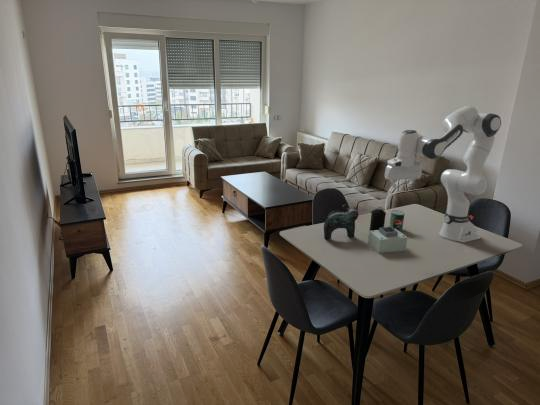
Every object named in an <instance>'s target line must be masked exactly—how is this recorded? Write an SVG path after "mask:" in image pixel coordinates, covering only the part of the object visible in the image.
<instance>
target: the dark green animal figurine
mask: <svg viewBox="0 0 540 405" xmlns="http://www.w3.org/2000/svg"><path fill="white" fill-rule="evenodd" d="M344 207H346V208H345V209H346V211H340V210H334V211H331V212H330V213H329V214H328V215H327V217H326V220H325V221H324V224H323V236H324V239H325V240H326V241H327V240H331V239H332V235H333V233H334V232H335V230H338V229H345V230H346V236H347V237H348V238H350V239H351V238H355V233H356V232H355V230H356V220H358V218H359V212H358V210H357V208H356V206H353V208H349V205H348V204H343V205H342V208H344Z"/></svg>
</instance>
